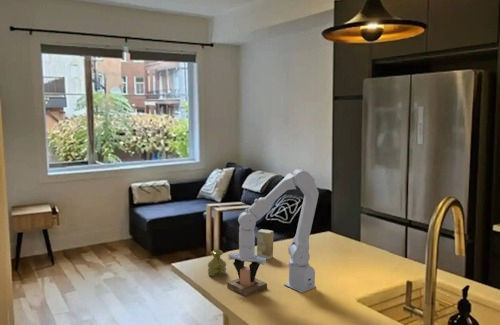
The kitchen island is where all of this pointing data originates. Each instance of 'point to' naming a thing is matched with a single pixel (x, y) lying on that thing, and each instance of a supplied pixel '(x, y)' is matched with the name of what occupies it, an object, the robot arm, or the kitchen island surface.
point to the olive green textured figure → (217, 264)
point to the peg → (245, 277)
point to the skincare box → (265, 243)
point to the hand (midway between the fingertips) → (247, 280)
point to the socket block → (249, 290)
